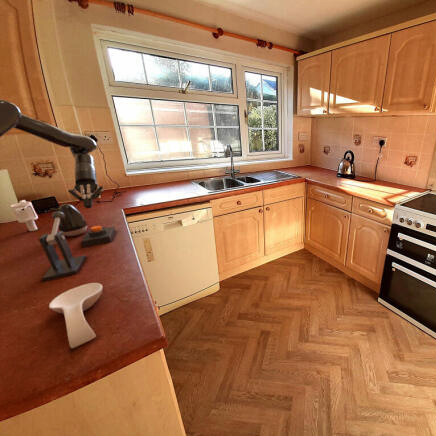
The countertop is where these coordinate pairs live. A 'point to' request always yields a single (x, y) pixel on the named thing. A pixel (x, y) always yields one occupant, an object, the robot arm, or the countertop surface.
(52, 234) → the lever
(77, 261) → the lever bracket
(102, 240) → the grey control base
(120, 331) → the countertop surface
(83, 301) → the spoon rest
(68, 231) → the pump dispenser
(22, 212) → the white stemmed block
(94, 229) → the power button
